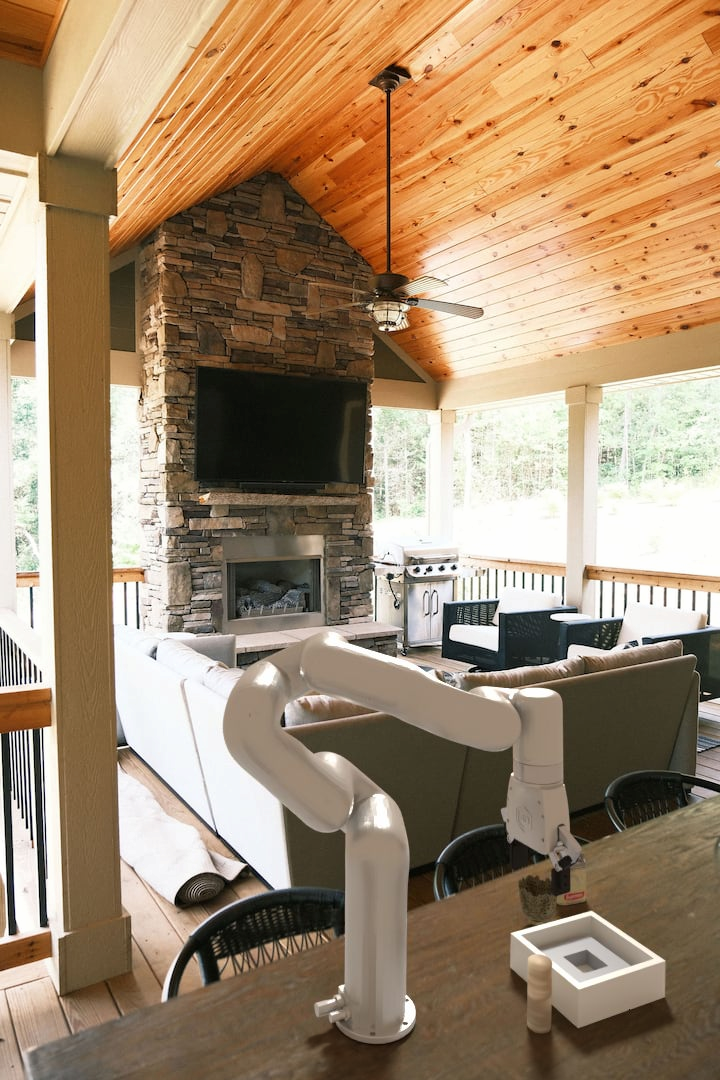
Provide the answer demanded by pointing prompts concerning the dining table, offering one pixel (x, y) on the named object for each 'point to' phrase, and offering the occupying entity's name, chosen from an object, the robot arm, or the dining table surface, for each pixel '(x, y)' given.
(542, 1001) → the peg
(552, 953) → the box
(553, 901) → the cup
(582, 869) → the lighter
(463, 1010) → the dining table surface
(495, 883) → the dining table surface
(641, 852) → the dining table surface
